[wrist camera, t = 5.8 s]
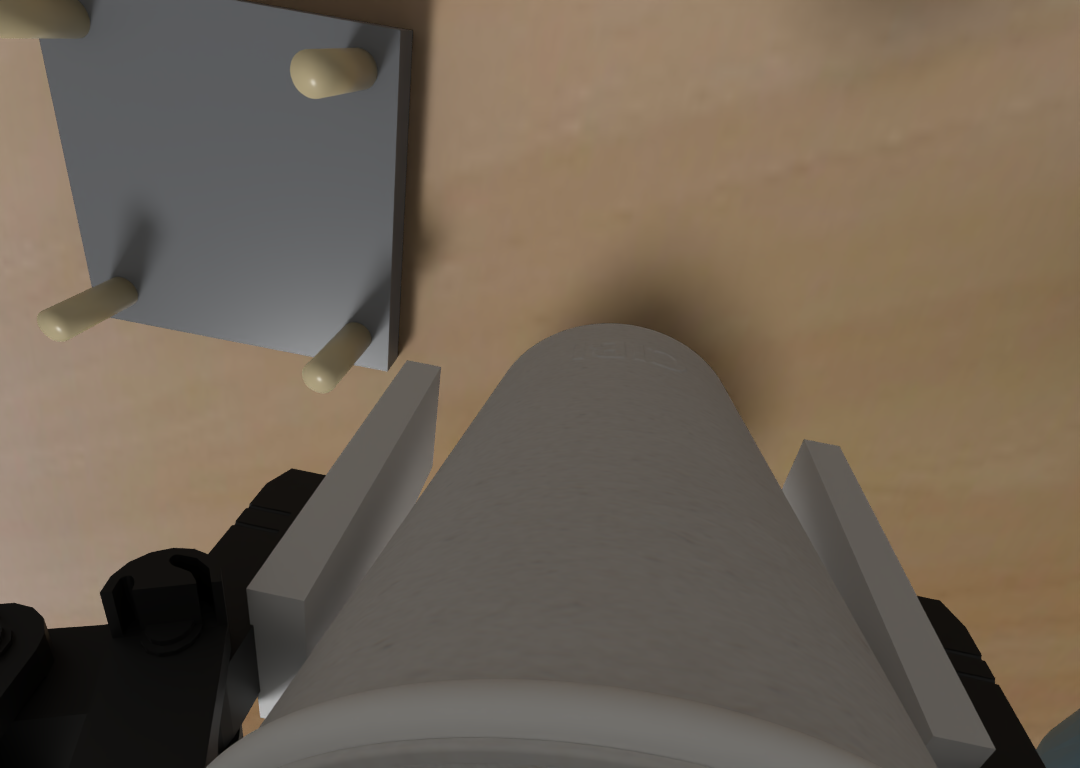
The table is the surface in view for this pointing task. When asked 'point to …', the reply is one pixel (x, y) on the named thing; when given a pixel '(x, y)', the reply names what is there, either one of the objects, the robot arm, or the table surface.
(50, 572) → the table surface
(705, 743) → the dixie cup
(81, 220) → the plate
